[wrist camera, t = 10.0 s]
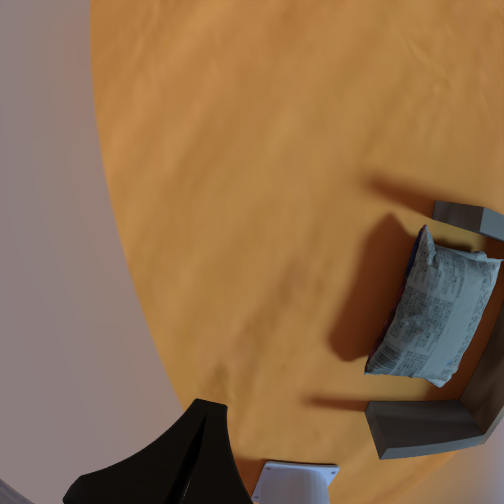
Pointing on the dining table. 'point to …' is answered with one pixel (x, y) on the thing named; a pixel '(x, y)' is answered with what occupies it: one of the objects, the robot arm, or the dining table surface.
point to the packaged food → (434, 312)
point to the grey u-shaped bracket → (475, 394)
